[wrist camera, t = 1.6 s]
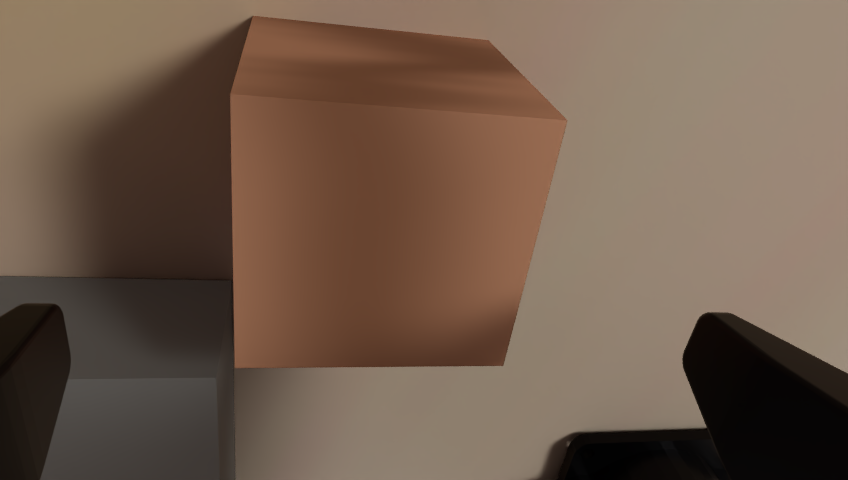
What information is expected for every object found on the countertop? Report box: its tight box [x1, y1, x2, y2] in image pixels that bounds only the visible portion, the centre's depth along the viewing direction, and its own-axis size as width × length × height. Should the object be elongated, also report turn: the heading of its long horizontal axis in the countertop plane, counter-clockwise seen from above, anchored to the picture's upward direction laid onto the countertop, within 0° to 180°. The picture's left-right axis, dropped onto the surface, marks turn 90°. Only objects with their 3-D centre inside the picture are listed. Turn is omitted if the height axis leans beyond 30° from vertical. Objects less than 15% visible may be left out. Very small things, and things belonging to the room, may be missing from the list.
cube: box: [230, 16, 567, 368], centre depth 13 cm, size 5×5×5 cm
